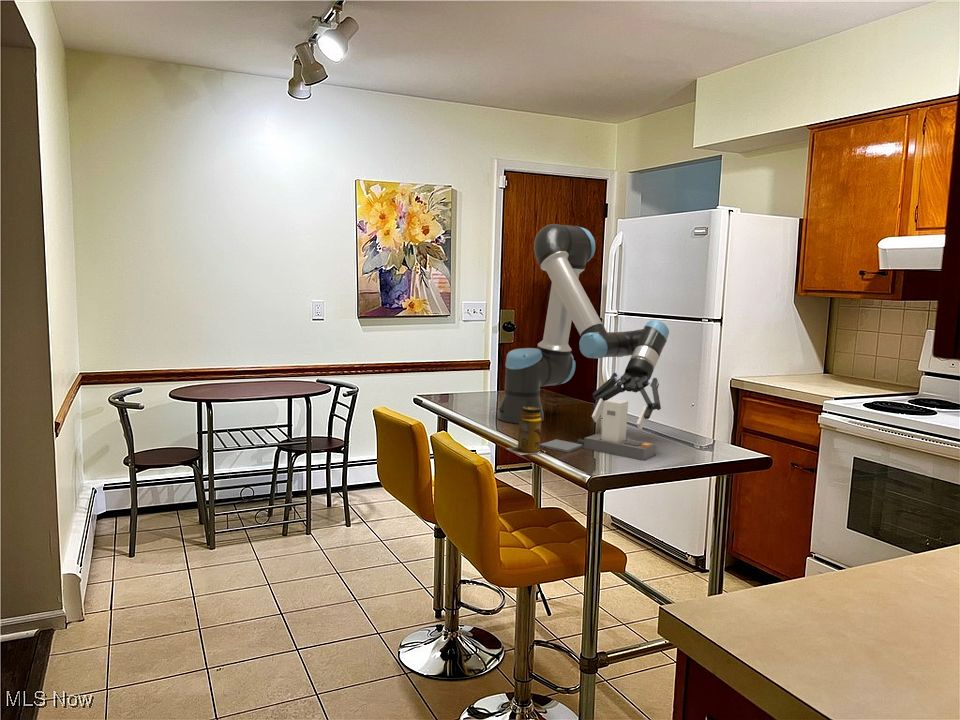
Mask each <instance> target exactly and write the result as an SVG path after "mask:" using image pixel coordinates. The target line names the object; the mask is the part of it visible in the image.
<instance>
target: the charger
mask: <svg viewBox="0 0 960 720" xmlns="http://www.w3.org/2000/svg"><path fill="white" fill-rule="evenodd" d="M628 409H629V400H628V401H627V400H621V399H614V398H610V399H608V400H606V401H604V407H603V410H602V421H601V422H602V424H601V425H602V426H601V434H602V438H601V440H602V441H608V442H613V443H618V444H619V443H622V442H624V441H626V439H627V438H626V437H627V424H628V413H629V411H628Z"/></svg>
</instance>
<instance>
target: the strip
mask: <svg viewBox="0 0 960 720" xmlns="http://www.w3.org/2000/svg"><path fill="white" fill-rule="evenodd" d="M601 438H602V433H595V434H592V435H590V436H586V437H584V439H581V438H578V439H577V441H576V443H577V444H582V445H583V449H586V450H591V451H597V452H601V453H606V454H611V455H614V456H619V457H625V458H631V459H634V460H641V461H646V460H647V459H650V458H651V457H654V456H656V454H657V453H656V451H657V444H655V443H651V442H646V441H640V440H634V439H629V438H626V441H624V442H622V443H619V444H618V443H613V442H608V441H602V440H601Z"/></svg>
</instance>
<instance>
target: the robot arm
mask: <svg viewBox="0 0 960 720" xmlns="http://www.w3.org/2000/svg"><path fill="white" fill-rule="evenodd" d="M533 252H534V255H535V259H536V261H537V263H538V265H539V268H540V270H542V271H545V272H546V273H547V276H548V278H549V279H550V281H551V284H550V285H551V286H550V291H549V300H548V306H547V313H546V319H545V325H544V332H543V337H542V340H541V341H539V342H538V343H537V346H536V347H535V348H533V347H525V348H524V347H523V348H515V349H512V350H510V351H509V352H508V353H507V354H506V358H505V364H504V366H505V370H504V373H505V374H504V376H505V377H504V395H503V399H502V401H501V404H500V406H499V408H498V409H499V410H498V413H497V419H498V420H499V419H500V421H503V422H504V423H512V424H518V425H519V418H520V417H521V409H522V407H528V406H530V407H537V408H540V418H541V423H542V421H543V422H544V421H545V420H544V414H545V413H544V410H543V406H542V402H541V398H540V397H541V396H540V391H541V387H548V386H559V385H562V384H565V383H567V382H569V381H570V380H571V379H572V377H573V376H574V374H575V371H576V360H574V356H573V354H572V351H573V350H572V348H571V347H570V344H569V338H570V333H571V327H572V322H573V324H574V327H575V328H576V330H577V333H578V335H579V336H580V339H579V343H578V345H579V351H580V353H581V354H582V355H583V356H584V357H586V358H588V359H601V358H602V359H603V358H622V357H630V358H629V360H628V363H627V366H626V367H625V369H624V372H623V374H622V375H618V374H617V372H613V373H612V375H611V376H610V378H608V379H607V380H606V381H605V382H604V383H603V384H601V385H600V386H599V387H598V389H596V390H594V392H592V397H593V399H594V401H595V403H594V405H593V413H592V415H591V417H592V420H593V422H594V423H597V422H598V420H599V418H600V416H601V415H602V413H603V407H604V401H606V400H610V399H613V398H614V397H616V396H617V395H619V394H620V393H624V392H625V391H626V392H632V393H637V392H640V394H641V395H642V397H643V400H644V402H645V403H646V404H644V405H643V407H642V409H641V413H640V415H639V417H638V419H637V421H636V426H637V428H638V430H639V431H641V430H642V429H643V427H644V424H645V423H646V420H650V418H651V415H652V413H653V411H654V410H657V411H660V410H661V409H662V407H661V401H660V394H659V389H658V388H659V385H660V384H659V381H658V378H657V377H653V378H652V376H653V373H654V370H655V368H656V366H657V363H658V361H659V359H660V356H661V353H662V351H663V349H664V348H665V345H666V343H667V342H668V341H667V340H668V337H669V335H670V330H669V327H668V325H666V324H665V323H664V322H663V321H661V320H657V319H652V320H649V321H647V322H646V324H645V325H644V326H643V328H642V329H636V330H628V331H627V330H626V331H609V332H608V331H607V330H606V327H605V326H604V325H603V323H602V320H601V318H600V316H599V315H598V313H597V311H596V309H595V308H594V306H593V304H592V302H591V300H590V298H589V297H588V295H587V293H586V291H585V289H584V287H583V286H582V283H581V282H580V280H579V277H580V274H581V273H582V272H583V271H585V269H586V265H587V263H588V262H589V261H591V259H592V258H593V257H594V255H595V252H596V240H595V237H594V236H593V235H592V233H591V232H590V231H589V230H588V229H587V228H584V227H581V226H578V225H566V224H565V225H564V224H558V223H551V224H547V225H545V226H543V227H541V228H540V229H539V230H538V232H537V233H536V235H535V238H534V241H533ZM651 378H652V379H651ZM648 386H650V387H651V390H652V391H651V392H652V396H653V402H652V401H651V398H650V397H649V395H648V393H647V392H646V390H645V388H646V387H648Z"/></svg>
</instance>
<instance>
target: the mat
mask: <svg viewBox="0 0 960 720" xmlns="http://www.w3.org/2000/svg"><path fill="white" fill-rule="evenodd" d="M540 446H542V447H541V448H544V447H546V449H550V450H554V451H559V452H563V453H570V452H572V451H574V450H575V451H576V450H578V449H580V448H584V444H580V443H578V442H572V441H566V440H561V439H557V438H556V439H553V440H550V441H546V442H542V443H540Z"/></svg>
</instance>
